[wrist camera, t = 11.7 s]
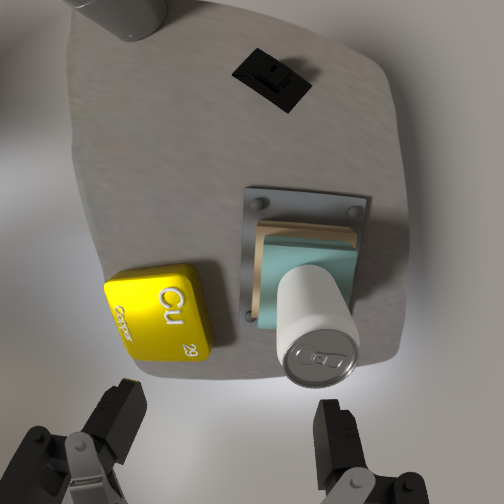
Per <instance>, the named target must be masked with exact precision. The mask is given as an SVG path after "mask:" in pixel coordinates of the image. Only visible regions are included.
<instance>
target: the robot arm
mask: <svg viewBox="0 0 504 504" xmlns="http://www.w3.org/2000/svg"><path fill="white" fill-rule="evenodd" d="M59 1H60V2H62V3H64V4H66V5H67V6H69V7H71V8H73V9H74V10H76V11H78V12H79V13H81V14H83V15H84V16H86V17H87V18H89V19H91V20H92V21H94V22H95V23H97V24H98V25H100V26H101V27H103V28H105V29H106V30H108V31H109V32H110V33H112V34H114V35H115V36H117V37H118V38H119V39H121V40H123V41H127V42H132V41H137V40H141V39H143V38H145V37H147V36H149V35H150V34H152V33H153V32H154V31H155V30H157V29H158V28H159V27H160V25H161V24H162V23H163V21H164V20H165V18H166V15H167V6H166V3H165V2H164V1H163V0H59ZM146 410H147V401H146V398H145V395H144V392H143V389H142V386H141V383H140V382H139V381H136V380H131V379H127V378H124V379H122V381H121V382H120V384H119V386H118V387H116V386H113V387H111V388H110V389H108V390H107V391H106V392H105V393H104V395H103V396H102V398H101V399H100V401H99V403H98V404H97V407H96V408H95V409H94V411H93V413H92V414H91V416H90V418H89V419H88V421H87V422H86V424H85V426H84V428H83V429H82V430H81V431H80V432H74V433H72V434H70V435H69V436H68V437H67V436H58V435H52V434H50V432H49V431H48V430H47V429H46V428H45V427H42V426H35V427H32V428H31V429H30V430H29V431H28V432H27V434H26V435H25V437H24V439H23V440H22V442H21V444H20V446H19V448H18V449H17V451H16V453H15V454H14V456H13V458H12V460H11V461H10V463H9V465H8V467H7V469H6V471H5V472H4V474H3V477H2V478H1V480H0V504H61V503H62V500H63V498H64V495H65V493H66V490H67V488H68V485H69V488H70V493H71V496H72V500H73V503H74V504H128V503H127V501H126V499H125V497H124V495H123V492H122V490H121V487H120V485H119V482H118V480H117V477H116V474H115V472H114V469H113V466H114V464H115V462H116V463H119V464H121V465H123V464H124V462H125V459H126V457H127V455H128V452H129V450H130V448H131V445H132V443H133V441H134V439H135V436H136V434H137V432H138V429H139V427H140V425H141V423H142V421H143V418H144V416H145V413H146ZM313 437H314V447H315V457H316V468H317V480H318V490H326V498H325V499H324V500H323V501H322V502H321V504H429V499H428V495H427V490H426V486H425V482H424V479H423V478H422V476H421V475H419V474H417V473H415V472H406V473H403V474H402V475H400V476H399V477H398V478H397V477H384V476H378V475H375V474H374V473H372V472H371V471H370V470H369V469H368V468H367V466H366V463H365V458H364V454H363V450H362V445H361V441H360V437H359V433H358V429H357V424H356V420H355V417H354V416H353V415H352V414H351V412H350V411H349V410H340V406H339V402H338V400H337V399H328V400H320V401H319V405H318V408H317V411H316V415H315V417H314V421H313ZM71 478H72V483H70V481H71ZM69 483H70V484H69Z"/></svg>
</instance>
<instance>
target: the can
mask: <svg viewBox="0 0 504 504" xmlns="http://www.w3.org/2000/svg"><path fill="white" fill-rule="evenodd" d="M277 355H278V359H279V361H280V363H281V365H282V366H283V370H284V373H285V375H286V376H287V377H288V378H289V379H290V380H291V381H292V382H293V383H295V384H297V385H299V386H302V387H305V388H314V389H316V388H325V387H329V386H332V385H335V384H337V383H339V382H341V381H343V380H344V379H345V378H347V377H348V376H349V375H350V374H351V373H352V372H353V370H354V369H355V367H356V365H357V363H358V360H359V335H358V331H357V328H356V326H355V324H354V321H353V319H352V317H351V314H350V312H349V310H348V308H347V305H346V303H345V301H344V299H343V297H342V295H341V293H340V290H339V288H338V286H337V284H336V282H335V280H334V278H333V277H332V275H331V274H330V273H329V272H328V271H327V270H325V269H324V268H322V267H319V266H316V265H301V266H298V267H295V268H293V269H292V270H290V271H289V272H287V273H286V274H285V275H284V276H283V277H282V279H281V281H280V283H279V286H278V292H277Z"/></svg>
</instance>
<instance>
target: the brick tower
mask: <svg viewBox="0 0 504 504" xmlns="http://www.w3.org/2000/svg"><path fill="white" fill-rule="evenodd" d="M366 200H367V199H365V198H359V197H351V196H342V195H333V194H323V193H313V192H302V191H290V190H276V189H261V188H244V209H243V231H242V255H241V279H240V305H239V326H249V327H258V328H263V329H277V292H278V286H279V283H280V281H281V279H282V277H283V276H284V275H285V274H286V273H287V272H289V271H290V270H292V269H293V268H295V267H298V266H301V265H316V266H319V267H322V268H324V269H325V270H327V271H328V272H329V273H330V274H331V275H332V277H333V278H334V280H335V282H336V284H337V286H338V288H339V290H340V293H341V295H342V297H343V299H344V301H345V303H346V305H347V308H348V310H349V305H350V300H351V296H352V291H353V286H354V280H355V275H356V270H357V264H358V258H359V252H360V246H361V239H362V232H363V225H364V217H365V209H366Z"/></svg>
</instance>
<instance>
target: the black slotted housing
mask: <svg viewBox="0 0 504 504" xmlns="http://www.w3.org/2000/svg"><path fill="white" fill-rule="evenodd" d="M232 76H233V77H235V78H236V79H238V80H239V81H241V82H243V83H244V84H246V85H247V86H249V87H250V88H252V89H253V90H255V91H256V92H258V93H259V94H261V95H262V96H263V97H265V98H266V99H268V100H269V101H271V102H272V103H273V104H275V105H276V106H278V107H279V108H280V109H282V110H283V111H284V112H286V113H289V112H290V111H291V110H292V109H293V107H294V106H295V105H296V104H297V103H298V102H299V101H300V99H301V98H302V97H303V96H304V95H305V94H306V93H307V92H308V90H309V89H310V88H311V87H312V85H311V84H310V83H308V82H307V81H306V80H304V79H303V78H302V77H300V76H299V75H297V74H296V73H295V72H293V71H292V70H291V69H290V68H288V67H287V66H285V65H284V64H282V63H280V62H279V61H278V60H276V59H275V58H273V57H272V56H270V55H269V54H267V53H265V52H263V51H262V50H260V49H259V48H256V49H255V50H254V51H253V52H252V53H251V54H250V56H249V57H248V58H247V59H246V60H245V61H244V62H243V63H242V64H241V65H240V66H239V67H238V68H237V69H236V70H235V71H234V72H233V74H232Z"/></svg>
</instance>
